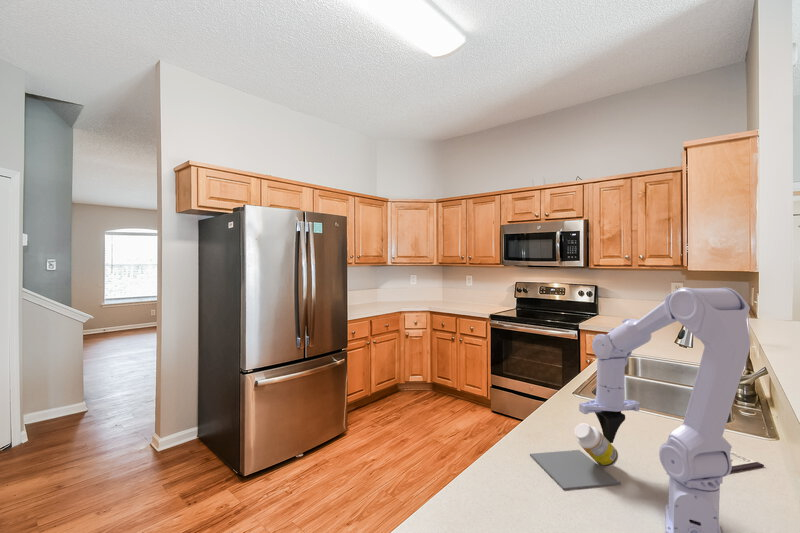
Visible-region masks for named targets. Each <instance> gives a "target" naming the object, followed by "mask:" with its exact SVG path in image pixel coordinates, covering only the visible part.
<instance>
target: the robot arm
mask: <svg viewBox="0 0 800 533" xmlns="http://www.w3.org/2000/svg"><path fill="white" fill-rule="evenodd" d="M750 310H751V306H750V305H749V304H748V302H747V301H746V300H745V299H744V298H743V297H742V295H741V294H740V292H738V291H736V290H735V289H733V288H730V287H714V288H713V287H711V288H710V287H709V288H704V287H703V288H702V287H700V288H699V287H698V288H694V287H693V288H691V287H680V288H677V289H676V290H675V291H673V292H672V293H670V294H667V295H665V297H664V301H662V302H660V304H658V305H657V306H655V307H654V308H653V309H652V310H650V311H649V312H648V313H646V314H645V315H643V316H641V318H639V319H637V318H625V319H623V320H622V321H621V322H622V323H621V324H620V325H618V326H617V327H615V328H611V329H610V330H609V332H608V333H606V334H605V333H598V334H597V333H596V335H595V336H594V337H593V339H592V340H591V341H592V343H591V347H592V352H593V354H594V356H595V357H597V362H596V363H597V364H596V390H595V391H596V392H595V397H594V399H592V400H589V401H585V402H579V405H578V408H579V409H578V411H579V412H580V413H582V414H584V415H589V414H590V413H594V414H595V415H596V417H597V420H598V422H599V425H600V428H601V431H602V432H601V433H602V435H603V436H604V437H605V438H606V439H607V440H608V441H609V442H610V443H611V444H613V443H614V440H615V439H616V438H615V437H616V434H617V432H618V430H619V428H620V426H621V425H622V424H623V423H624V422H625V420H626V415H625V414H624V413H622V412H623V411H635V412H640V403H641V402H639V401H636V400H634V399H625V378H626V377H625V373H626V372H625V370H626V367H627V365H628V360H629V358H630V357H631V356H632V353H633V351H635V350H637V349H638V348H640V347H642V346H644V345H646V344H647V343H649V342H650V341H651V340H652V334H653V333H655V332H657V331H659V330H661V329H663V328H665V327H668V326H670V325H672V324H674V323H676V322H679V323H680V324H681V326H683V327H684V328H685V329H686V330H688V332H690V333H691V334H692V335H693V336H694V337H695V338H696V339H697V340H700V341H701V343H702V344H703V346H704V349H703V351H702V355H701V357H700V358H701V359H700V361H699V365H698V370H697V373H696V377H695V379H694V384H693V388H692V390H691V394H690V397H689V400H688V404H687V408H686V412H685V415H684V419H683V422H682V424H681V425H679V426H678V427H676V428H675V429H674V430H673V431H671V432H670V433H669V434H668V438H667V440H666V441H665V442H664V443H663V444H662V445H661V446H660V447H659V451H658V456H659V461H660V463H661V465H662V468H663V470H664V471H665V472H666V475H667V476H668V477H669V478H668V479H669V480H668V481H669V484H668V504H665V533H722V530H721V525H720V494H721V493H720V492H721V485H722V484H723V483H724V482H723V479H724V478H725V477H728V475H729V474H731V473H730V472H731V469H732V463H731V459H730V451H731V450H732V448H733V447H732V445H731V444H730V442H729V441H728V440H727V439H726V438H725V437H724V436H723V435H724V432H725V429H726V426H727V422H728V420H729V416H730V413H731V410H732V407H733V404H734V401H735V397H736V394H737V391H738V388H739V384H740V382H741V378H742V376H743V373H744V369H745V366H746V363H747V360H748V358H749V354H750V353H749V352H750V350H751V338H750V334H749V327H748V322H747V320H748V316H749V313H750ZM723 477H724V478H723Z"/></svg>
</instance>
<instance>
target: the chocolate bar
mask: <svg viewBox="0 0 800 533" xmlns="http://www.w3.org/2000/svg"><path fill="white" fill-rule="evenodd" d="M730 459H731V463H732V469H731V472H730V473H729V474H733V473H737V472H743V471H748V470H755V469H761V468H764V467H765V465H764V464H763V463H760V462H759V461H756V460H755V459H751V458H749V457H747V456H745V455H743V454H741V453H738V452H736V451H734V450H732V449H731V451H730Z"/></svg>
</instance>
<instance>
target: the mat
mask: <svg viewBox="0 0 800 533" xmlns="http://www.w3.org/2000/svg"><path fill="white" fill-rule="evenodd" d="M529 456H530V457H531V458H532V459H533V461H534V462H536V463H537V464H538V465H539V466H540V467H541V469H543V470H544V471H545V473H547V475H549V477H550V478H551V479H552V480H553V481H554V482H555V483H556V484H557V485H558V486H559V487H560V488H561V490H563V491H568V490H577V489H586V488H588V489H589V488H597V487H599V488H600V487H608V486H617V485H621V482H620V480H618V479H616V478H615V476H613V475H612V474H610V473H609V472H608V471H606V470H605V469H604V467H603V466H600V465H599V464H598V463H597V462H596V461H595V460H594V459H593V458H590V457H589V456H588V455H587V454H585V453H584V452H583V451H581V450H580V449H575V450H561V451H549V452H538V453H537V452H535V453H530V454H529Z"/></svg>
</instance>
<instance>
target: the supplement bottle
mask: <svg viewBox="0 0 800 533" xmlns="http://www.w3.org/2000/svg"><path fill="white" fill-rule="evenodd" d="M574 435H575V437H576V438H577V443H578V445H579V446H580V447H581V448H582V449H583V450H584V451H585V452H586V453H587V454H588V455H589V456H590V457H591V459H592V460H593V461H594V462H595V463H597V464H598V465H599V466H600V467H602V468H610V467H613V466H614V465H615V464H616V463H617V461H618V459H619V453H618V450H617V448H616V447H615V446H614V445H613V443H610V442H609V441H608V440H607V439H606V438H605V437H604V436H603V433H602V432H601V431H600V430H599V429H598V428H597V427H594V426H593V425H592V426H591V425H590V424H588V423H585V422H582V423H579V424H577V425H576V426H575V428H574Z"/></svg>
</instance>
